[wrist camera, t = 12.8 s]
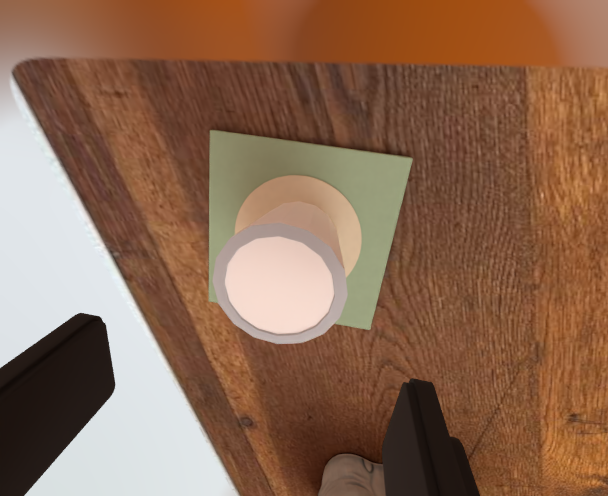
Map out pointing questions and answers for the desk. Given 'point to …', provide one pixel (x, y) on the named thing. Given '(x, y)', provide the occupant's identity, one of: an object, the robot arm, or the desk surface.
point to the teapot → (352, 477)
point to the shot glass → (283, 275)
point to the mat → (311, 202)
